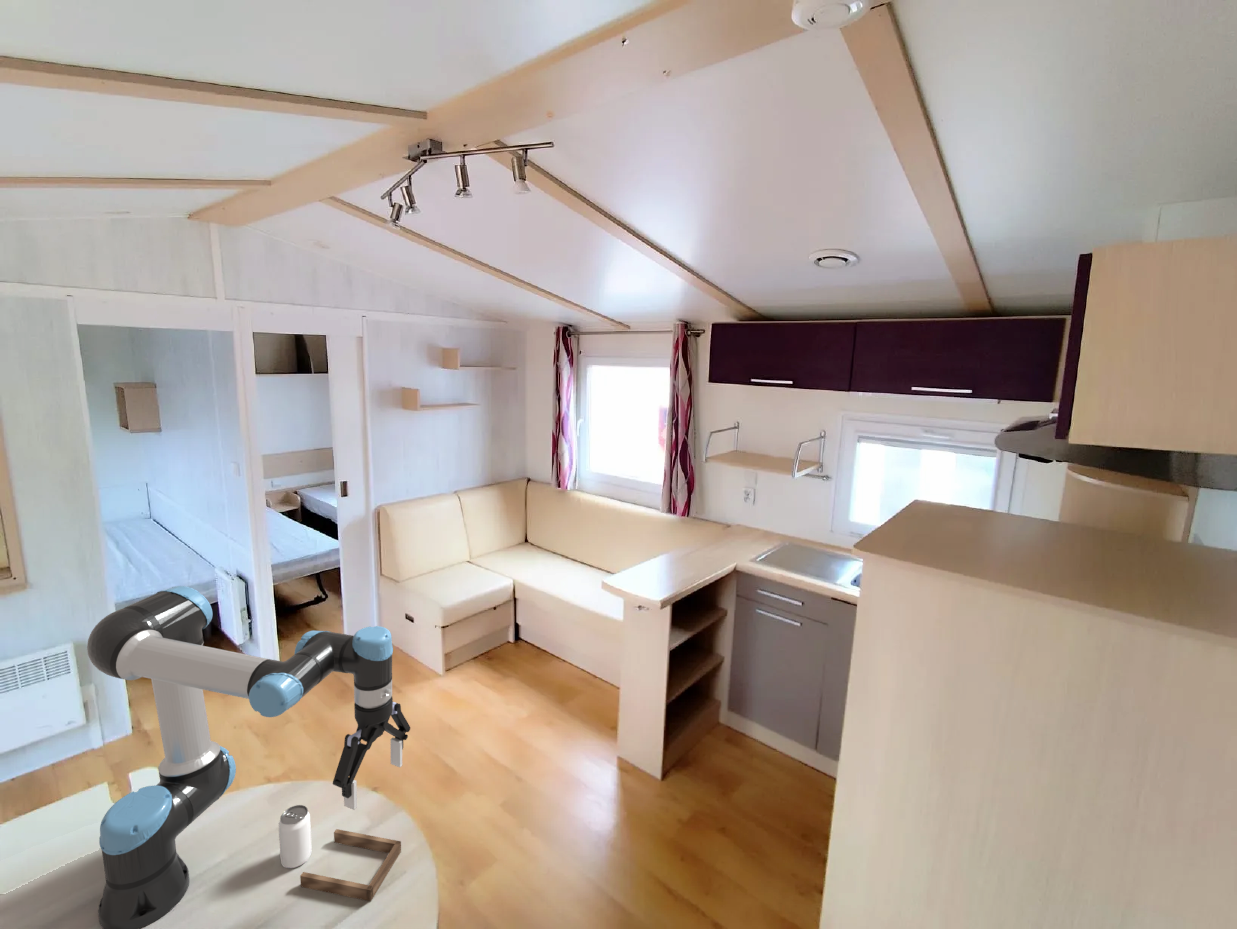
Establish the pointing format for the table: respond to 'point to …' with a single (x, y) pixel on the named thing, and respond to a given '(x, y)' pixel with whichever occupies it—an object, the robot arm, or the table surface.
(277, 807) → the table surface
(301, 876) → the open wooden frame
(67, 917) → the table surface
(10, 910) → the table surface
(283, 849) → the can
